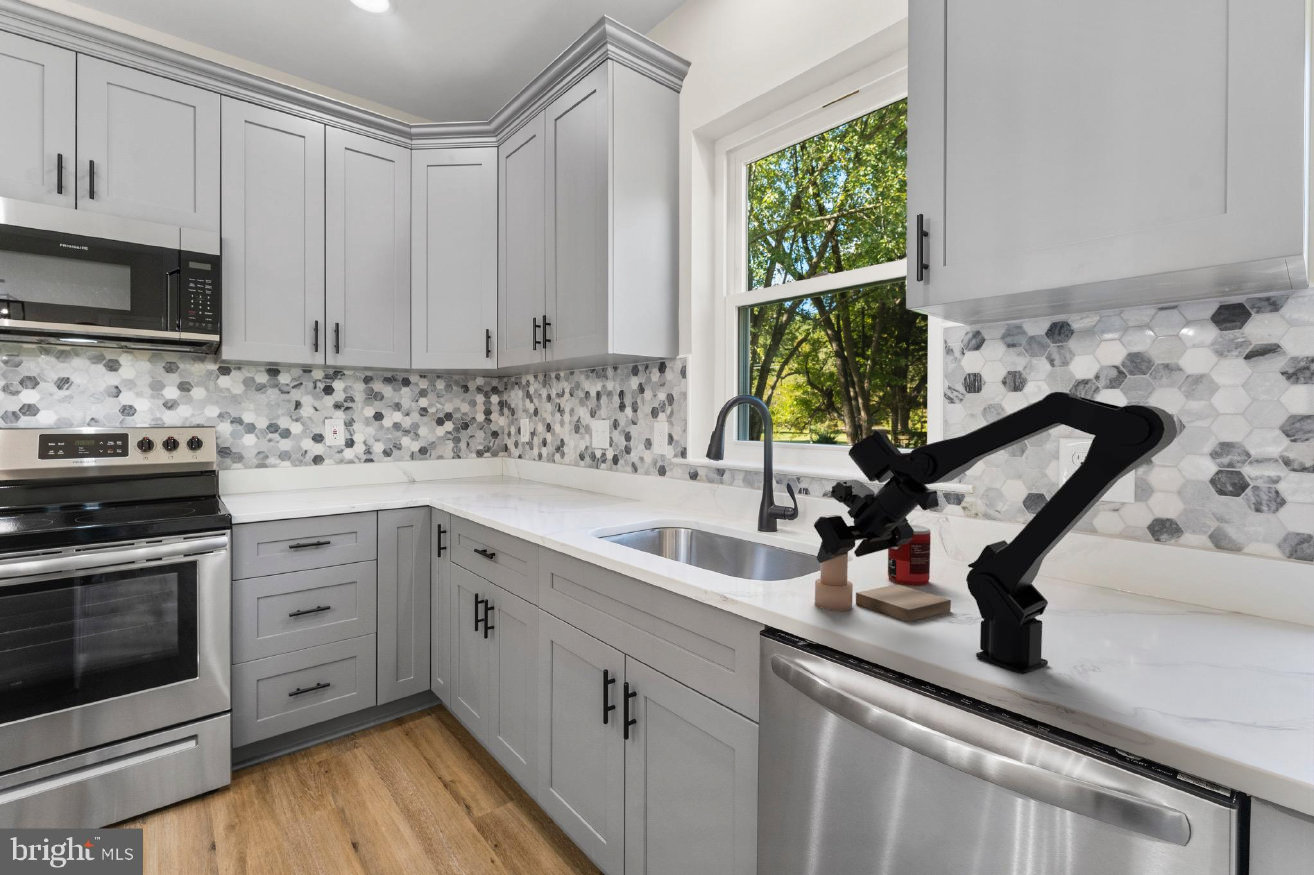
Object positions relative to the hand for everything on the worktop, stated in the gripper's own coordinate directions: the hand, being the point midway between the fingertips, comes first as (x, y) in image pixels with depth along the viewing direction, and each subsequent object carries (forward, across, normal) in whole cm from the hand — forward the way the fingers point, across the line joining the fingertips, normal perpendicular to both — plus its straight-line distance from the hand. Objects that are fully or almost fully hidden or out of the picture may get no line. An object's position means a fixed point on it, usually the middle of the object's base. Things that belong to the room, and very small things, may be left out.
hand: (837, 557), depth 106 cm
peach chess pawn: (+7, 0, +6) cm, 9 cm away
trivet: (+2, -10, +10) cm, 14 cm away
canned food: (+10, -26, +3) cm, 27 cm away
